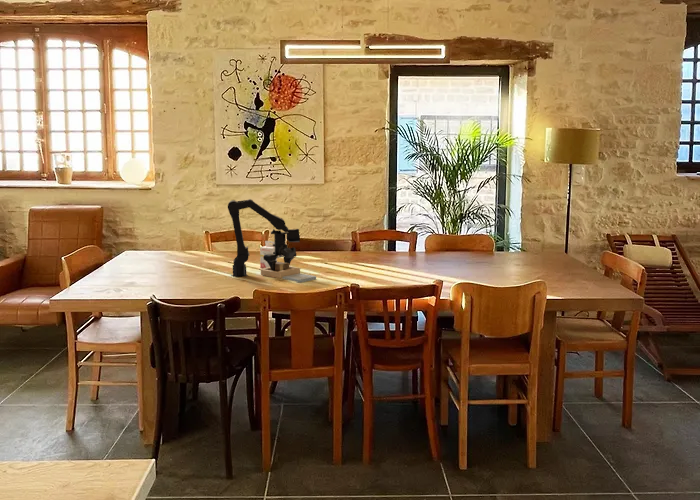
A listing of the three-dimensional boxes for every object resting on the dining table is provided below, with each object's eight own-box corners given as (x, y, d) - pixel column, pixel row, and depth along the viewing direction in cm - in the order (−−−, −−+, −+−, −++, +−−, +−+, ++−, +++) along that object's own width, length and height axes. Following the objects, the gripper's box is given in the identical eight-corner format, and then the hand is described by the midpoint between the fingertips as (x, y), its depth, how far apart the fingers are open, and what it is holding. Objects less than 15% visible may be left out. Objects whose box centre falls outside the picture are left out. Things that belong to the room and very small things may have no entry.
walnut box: (282, 276, 387) (282, 264, 386) (272, 274, 392) (271, 262, 391) (289, 274, 390) (288, 263, 389) (278, 272, 396) (278, 261, 395)
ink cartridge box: (259, 268, 412) (259, 241, 410) (265, 266, 416) (265, 240, 414) (272, 269, 407) (271, 242, 405) (277, 268, 412) (277, 241, 409)
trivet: (299, 282, 373) (299, 279, 372) (282, 279, 380) (282, 276, 380) (316, 279, 381) (316, 276, 381) (299, 276, 389) (299, 273, 389)
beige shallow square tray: (279, 279, 380) (278, 272, 380) (259, 275, 390) (259, 268, 390) (301, 274, 393) (301, 267, 392) (282, 271, 402) (281, 264, 402)
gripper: (277, 246, 376) (278, 276, 379) (303, 241, 390) (304, 271, 393) (262, 243, 384) (263, 273, 386) (288, 239, 397) (289, 268, 400)
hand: (280, 271), depth 391 cm, fingers open, 9 cm apart
